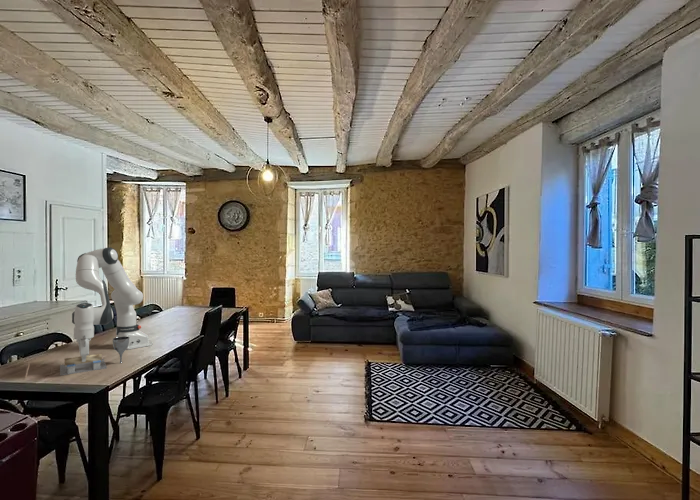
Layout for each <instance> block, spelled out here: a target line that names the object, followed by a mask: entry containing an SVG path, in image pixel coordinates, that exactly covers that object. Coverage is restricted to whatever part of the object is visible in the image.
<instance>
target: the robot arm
mask: <svg viewBox="0 0 700 500" xmlns="http://www.w3.org/2000/svg"><path fill="white" fill-rule="evenodd" d="M76 262H77V263H76V268H75V281H76V284H77V285H78V287H81V288H83V289H85V290H89V291H93V292H96V293H98V294H99V297H100V300H101V301H100V302H101V306H97V307H95V306H94V305H93V304H92V303H89V302H83V303H79V304H76V305H75V308H74V311H73V312H72V314H71V323H72V324H73V325H74V328H73V340H76V342H77V345H78V349H79V351H78V352H79V355H80V356H82V362H85V361H86V356H88V355H89V354H90V341H91V340H92V338H94V337H95V326H97V325H99V326H100V325H101V326H102V325H103V326H104V325H108V324H110V323H111V322H112V321H113V319H114V312H113V308H112V306H111V301H110V299H111V300H112V302H113V303H114V307H115V312H116V327H115V335H116V336H115V338H116V337H123V336H126V337H129V345H128V348H127V349H126V350H133V349H139V348H144V347H148V346H149V347H150V346H153V345H154V344H153V343H154V342H153V341H152V340H150V337H149V335H148V334H147V333H146V332H143V330H141V329H142V325H139V324H137V311H136V310H135V308H134V306H136V305H139V304H141V303H142V302H143V300H144V294H143V292H142V291H141V290H140V289H138V287H137V286H136V285H135V283H134V282H133V281H132V280H131V279H130V278H129V275H127V272H126V271H125V268H124V267H123V265H122V263H121V261H120V260H119V254H118V251H117V250H116V249H115V248H113V247H103V248H99V249H94V250H91V251H88V252H84V253H82V254H80V255H79V256H78V258H77V259H76ZM100 269H101V270H102V272H103V275H104V277H105V279H106V280H107V282H108V284H109V285H110V286H111V287H112V288H113V289H114V290H113V291H112V292H111V294H110V295H109V291H108V286H107V284H106V282H105V281H104V280H102V279H101V277H100ZM94 325H95V326H94ZM80 356H79V357H80Z"/></svg>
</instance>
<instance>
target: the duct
mask: <svg viewBox="0 0 700 500" xmlns="http://www.w3.org/2000/svg"><path fill="white" fill-rule="evenodd" d="M105 369H108V367H107V364H106V362H105V359H104V358H102V361H101V360H99V361H93V362H88V363H81V364H71V365H67V366H64V364H60V365H59V376H62V377H63V376H68V375H72V374H73V375H74V374H79V373H80V374H81V373H85V372H86V373H87V372H93V371H99V370H105Z"/></svg>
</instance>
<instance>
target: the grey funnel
mask: <svg viewBox="0 0 700 500" xmlns="http://www.w3.org/2000/svg"><path fill="white" fill-rule="evenodd" d="M128 345H129V337H126V336H123V337H116V336H115V337H113V338H112V346H113V350H115V351H116V353H118V354H119V364H123V362H122V361H123V355H124V353H125V352H126V350H128V349H127V348H128Z"/></svg>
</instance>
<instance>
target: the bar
mask: <svg viewBox="0 0 700 500" xmlns="http://www.w3.org/2000/svg"><path fill="white" fill-rule="evenodd" d="M102 359H103V354H102V353H97V354H96V353H95V354H90V355H87V356H86V361H85V362H82V356H75V357H73V356H72V357H65V358H64V361H63V362H64V364H63V365H64V366H67V365H71V364H81V363H88V362H93V361H99V360H101V361H102Z"/></svg>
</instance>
